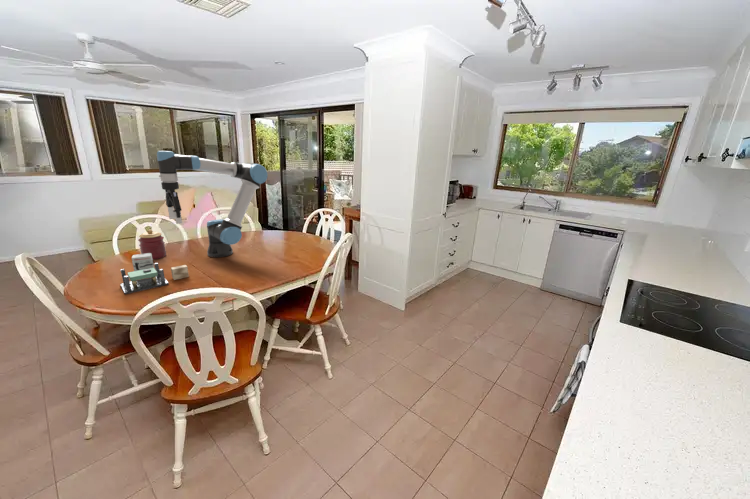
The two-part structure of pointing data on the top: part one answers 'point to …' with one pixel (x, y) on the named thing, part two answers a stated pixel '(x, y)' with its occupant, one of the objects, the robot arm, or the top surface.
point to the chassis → (143, 282)
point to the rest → (179, 272)
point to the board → (142, 274)
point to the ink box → (142, 261)
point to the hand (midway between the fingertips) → (175, 221)
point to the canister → (152, 244)
